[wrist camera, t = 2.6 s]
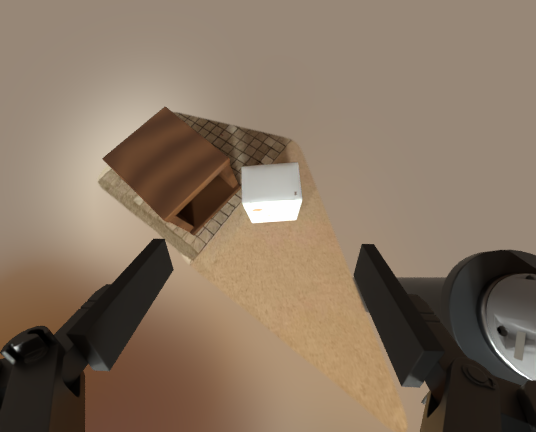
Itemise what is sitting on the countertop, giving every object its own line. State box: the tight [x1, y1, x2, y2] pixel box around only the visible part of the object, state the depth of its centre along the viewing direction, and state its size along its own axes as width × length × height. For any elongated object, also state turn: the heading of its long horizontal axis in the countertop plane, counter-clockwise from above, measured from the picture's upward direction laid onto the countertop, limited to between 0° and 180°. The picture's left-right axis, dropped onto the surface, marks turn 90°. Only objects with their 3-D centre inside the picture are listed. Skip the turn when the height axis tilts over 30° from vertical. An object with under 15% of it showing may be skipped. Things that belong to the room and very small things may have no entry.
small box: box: [242, 162, 302, 223], centre depth 32 cm, size 8×6×10 cm
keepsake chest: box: [103, 107, 241, 235], centre depth 34 cm, size 14×12×10 cm
